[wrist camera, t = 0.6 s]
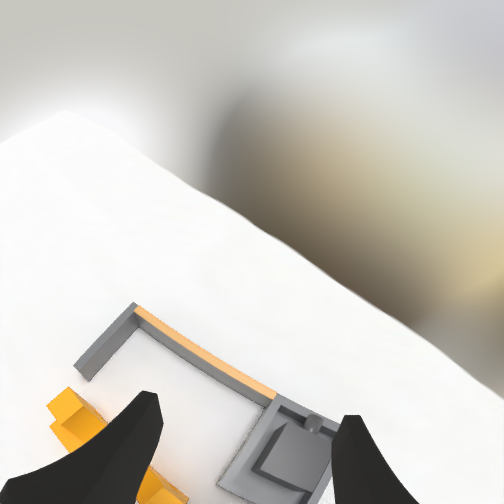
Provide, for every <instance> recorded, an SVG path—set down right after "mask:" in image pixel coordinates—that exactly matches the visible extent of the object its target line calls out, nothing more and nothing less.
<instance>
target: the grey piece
mask: <svg viewBox="0 0 504 504" xmlns="http://www.w3.org/2000/svg"><path fill="white" fill-rule="evenodd" d="M138 327H140V328H141V329H142V330H144V331H145V332H146V333H148V334H149V335H151V336H152V337H153V338H155V339H156V340H157V341H159V342H160V343H162V344H163V345H165V346H166V347H167V348H169V349H170V350H172V351H173V352H175V353H176V354H178V355H179V356H180V357H182V358H183V359H185V360H186V361H188V362H189V363H191V364H193V365H194V366H196V367H197V368H199V369H200V370H202V371H203V372H205V373H207V374H208V375H210V376H211V377H213V378H215V379H216V380H218V381H219V382H221V383H223V384H224V385H226V386H228V387H229V388H231V389H233V390H234V391H236V392H238V393H240V394H241V395H243V396H245V397H246V398H248V399H250V400H252V401H254V402H255V403H257V404H259V405H261V406H263V407H264V408H266V409H265V410H264V412H263V414H262V415H261V417H260V418H259V420H258V422H257V423H256V425H255V427H254V428H253V430H252V431H251V433H250V434H249V436H248V438H247V439H246V441H245V442H244V444H243V445H242V447H241V448H240V450H239V452H238V453H237V455H236V456H235V458H234V459H233V461H232V462H231V464H230V465H229V466H228V468H227V469H226V471H225V472H224V474H223V475H222V477H221V478H220V480H219V481H218V482H217V485H219V486H221V487H222V488H224V489H226V490H228V491H230V492H232V493H234V494H236V495H238V496H240V497H242V498H244V499H246V500H248V501H250V502H252V503H254V504H317V503H318V501H319V500H320V498H321V496H322V494H323V492H324V490H325V489H326V487H327V485H328V483H329V481H330V479H331V477H332V467H331V443H332V441H333V439H334V437H335V435H336V433H337V430H338V428H339V426H340V424H338V423H336V422H334V421H332V420H330V419H328V418H326V417H323V416H321V415H319V414H317V413H315V412H313V411H311V410H309V409H307V408H305V407H303V406H301V405H299V404H297V403H295V402H293V401H291V400H289V399H287V398H286V397H284V396H282V395H280V394H278V393H277V392H276V391H274V390H272V389H271V388H269V387H267V386H265V385H263V384H261V383H260V382H258V381H256V380H254V379H253V378H251V377H249V376H247V375H246V374H244V373H242V372H240V371H239V370H237V369H235V368H234V367H232V366H230V365H229V364H227V363H225V362H224V361H222V360H220V359H219V358H217V357H216V356H214V355H212V354H211V353H209V352H208V351H206V350H204V349H203V348H201V347H200V346H198V345H197V344H195V343H193V342H192V341H190V340H189V339H187V338H186V337H184V336H183V335H181V334H180V333H178V332H177V331H175V330H174V329H172V328H171V327H169V326H168V325H166V324H165V323H164V322H162V321H161V320H159V319H158V318H156V317H155V316H154V315H152V314H151V313H149V312H148V311H146V310H145V309H144V308H142V307H141V306H140V305H139V306H138V305H137V304H136V303H134V302H133V303H132V304H131V305H130V306H129V307H128V308H127V309H126V310H125V311H124V312H123V313H122V314H121V315H120V316H119V317H118V318H117V319H116V320H115V321H114V322H113V323H112V324H111V325H110V326H109V327H108V329H107V330H106V331H105V332H104V333H103V334H102V335H101V336H100V337H99V338H98V339H97V340H96V341H95V342H94V343H93V344H92V345H91V347H90V348H89V349H88V350H87V351H86V352H85V353H84V354H83V355H82V356H81V357H80V358H79V360H78V361H77V362H76V363H75V364H74V365H73V366H74V367H75V368H76V369H77V370H78V371H79V372H80V373H81V375H82V376H83V377H84V378H85V379H87V380H88V381H90V380H91V379H92V378H93V377H94V375H95V374H96V373H97V372H98V371H99V370H100V369H101V368H102V366H103V365H104V364H105V363H106V362H107V361H108V360H109V359H110V358H111V356H112V355H113V354H114V353H115V352H116V351H117V350H118V349H119V348H120V346H121V345H122V344H123V343H124V342H125V341H126V340H127V339H128V338H129V337H130V335H131V334H132V333H133V332H134V331H135V330H136V329H137V328H138Z"/></svg>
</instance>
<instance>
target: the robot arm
mask: <svg viewBox="0 0 504 504" xmlns="http://www.w3.org/2000/svg"><path fill="white" fill-rule="evenodd" d="M163 424H164V423H163V418H162V414H161V409H160V405H159V400H158V395H157V394H156V393H152V392H147V391H141V392H140V393H139V394H138V395H137V396H136V397H135V398H134V399H133V400H132V402H131V403H130V404H129V405H128V406H127V407H126V408H125V409H124V410H123V411H122V412H121V413H120V414H119V415H118V416H117V417H115V418H114V419H113V420H112V421H111V422H110V423H109V424H108V425H107V426H106V427H105V428H103V429H102V430H101V431H100V432H99V433H97V434H96V435H95V436H94V437H93V438H91V439H90V440H89V441H87V442H86V443H85V444H83V445H82V446H81V447H79V448H78V449H76V450H75V451H73V452H71V453H70V454H68V455H66V456H65V457H63V458H61V459H59V460H58V461H56V462H54V463H52V464H50V465H47V466H45V467H43V468H40V469H38V470H36V471H33V472H31V473H28V474H24V475H21V476H18V477H14V478H11V479H8V481H7V482H6V483H5V485H4V487H3V489H2V490H1V492H0V504H135V501H136V497H137V494H138V491H139V488H140V485H141V483H142V481H143V478H144V476H145V474H146V471H147V469H148V467H149V464H150V462H151V460H152V457H153V455H154V453H155V450H156V448H157V445H158V442H159V439H160V435H161V432H162V428H163ZM331 467H332V476H333V485H334V495H335V504H419V503H418V502H417V501H416V500H415V499H414V498H413V496H412V495H411V494H410V493H409V492H408V491H407V490H406V488H405V487H404V486H403V485H402V483H401V482H400V481H399V479H398V478H397V477H396V475H395V474H394V473H393V471H392V470H391V468H390V467H389V465H388V464H387V462H386V461H385V459H384V457H383V456H382V454H381V452H380V451H379V449H378V447H377V446H376V444H375V442H374V440H373V438H372V437H371V435H370V433H369V431H368V429H367V427H366V425H365V423H364V421H363V419H362V417H361V416H360V415H344V418H343V420H342V422H341V424H340V426H339V428H338V430H337V433H336V435H335V437H334V439H333V441H332V443H331Z"/></svg>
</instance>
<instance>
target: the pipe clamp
mask: <svg viewBox="0 0 504 504" xmlns="http://www.w3.org/2000/svg"><path fill="white" fill-rule="evenodd" d="M46 406H47V407H48V409H49V410H50V412H51V413H52V414H53V416H54V417H55V419H56V421H55V422H54V423H52V424H51V425H50V426H49V427H50V428H51V429H52V431H53V432H54V433H55V435H56V436H57V437H58V439H59V440H60V441H61V443H62V444H63V445H64V446H65V448H66V449H67V450H68V451H69V453H71V452H73V451H75V450H76V449H78V448H79V447H81V446H82V445H83V444H85V443H86V442H87V441H89V440H90V439H91V438H93V437H94V436H95V435H96V434H97V433H99V432H100V431H101V430H102V429H103V428H105V427H106V426H107V425H108V423H107V422H106V421H105V420H104V419H103V418H102V417H101V415H100V414H99V413H98V412H97V411H96V410H95V409H94V407H93V406H91V405H90V404H89V403H88V402H86V401H85V400H84V399H83V398H81V397H80V396H79V395H78V394H77V393H75V392H74V391H73V390H72V389H71V388H69V387H67V388H66V389H65V390H64V391H63V392H61V393H60V394H59V395H58V396H57V397H56V398H54V399H53V400H52V401H51V402H50V403H49V404H47V405H46ZM136 499H137V500H138V502H139V504H187V502H188V500H189V498H188V497H186V496H185V495H184V494H183V493H181V492H180V491H179V490H178V489H176V488H175V487H174V486H173V485H171V484H170V483H169V482H168V481H167V480H166V479H164V478H163V477H162V476H161V475H160V474H159V473H157V472H156V471H155V470H154V469H153V468H152V467H151V466H150V465H149V467H148V469H147V471H146V474H145V476H144V478H143V481H142V483H141V485H140V488H139V491H138V494H137V497H136Z"/></svg>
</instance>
